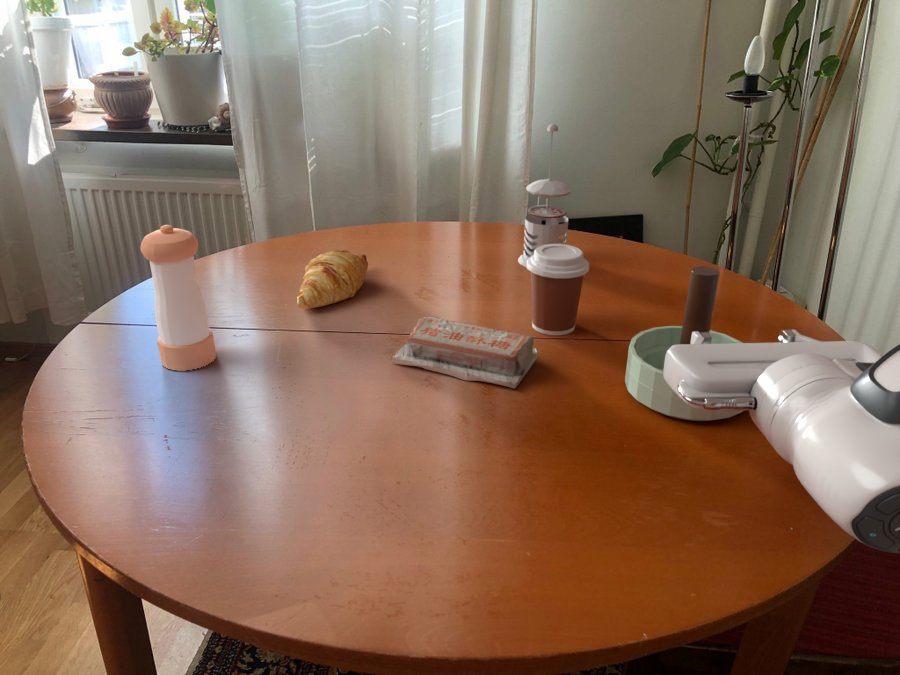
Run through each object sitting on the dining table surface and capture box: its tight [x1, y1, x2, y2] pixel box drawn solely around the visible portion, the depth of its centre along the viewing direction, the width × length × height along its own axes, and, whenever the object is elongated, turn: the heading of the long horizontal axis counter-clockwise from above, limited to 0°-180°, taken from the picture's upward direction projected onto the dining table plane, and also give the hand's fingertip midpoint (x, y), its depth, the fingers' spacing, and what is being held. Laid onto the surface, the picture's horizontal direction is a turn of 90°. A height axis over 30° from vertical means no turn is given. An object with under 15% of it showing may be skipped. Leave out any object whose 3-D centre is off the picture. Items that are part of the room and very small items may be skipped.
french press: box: [517, 123, 573, 268], centre depth 134 cm, size 10×12×25 cm
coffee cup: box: [526, 243, 590, 336], centre depth 110 cm, size 9×9×12 cm
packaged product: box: [391, 316, 539, 389], centre depth 101 cm, size 18×5×10 cm
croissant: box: [296, 250, 369, 310], centre depth 124 cm, size 21×10×8 cm, turn 160°
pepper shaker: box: [139, 224, 217, 372], centre depth 98 cm, size 7×7×19 cm
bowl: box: [624, 325, 744, 422], centre depth 93 cm, size 15×15×6 cm
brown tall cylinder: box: [680, 265, 720, 344], centre depth 91 cm, size 4×4×16 cm
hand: (741, 336), depth 78 cm, fingers open, 8 cm apart
